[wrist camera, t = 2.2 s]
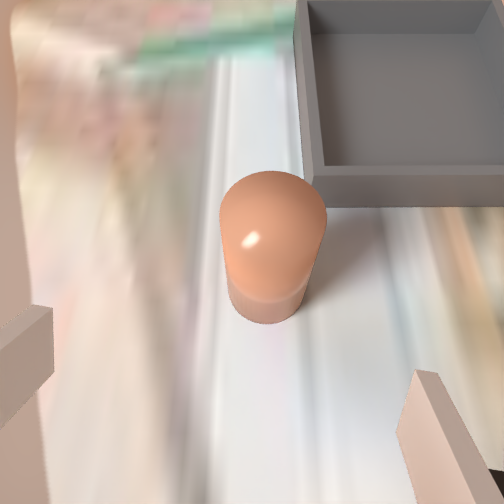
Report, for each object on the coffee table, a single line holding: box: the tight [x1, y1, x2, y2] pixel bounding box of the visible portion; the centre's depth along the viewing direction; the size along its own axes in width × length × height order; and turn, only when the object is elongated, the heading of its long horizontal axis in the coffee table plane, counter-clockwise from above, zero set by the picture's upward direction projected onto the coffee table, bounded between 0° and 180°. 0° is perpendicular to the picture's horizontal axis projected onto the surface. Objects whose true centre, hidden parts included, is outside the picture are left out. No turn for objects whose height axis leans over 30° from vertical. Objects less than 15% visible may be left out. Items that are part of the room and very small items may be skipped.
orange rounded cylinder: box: [219, 171, 327, 324], centre depth 31 cm, size 6×6×12 cm
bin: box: [293, 0, 504, 208], centre depth 43 cm, size 22×24×5 cm
